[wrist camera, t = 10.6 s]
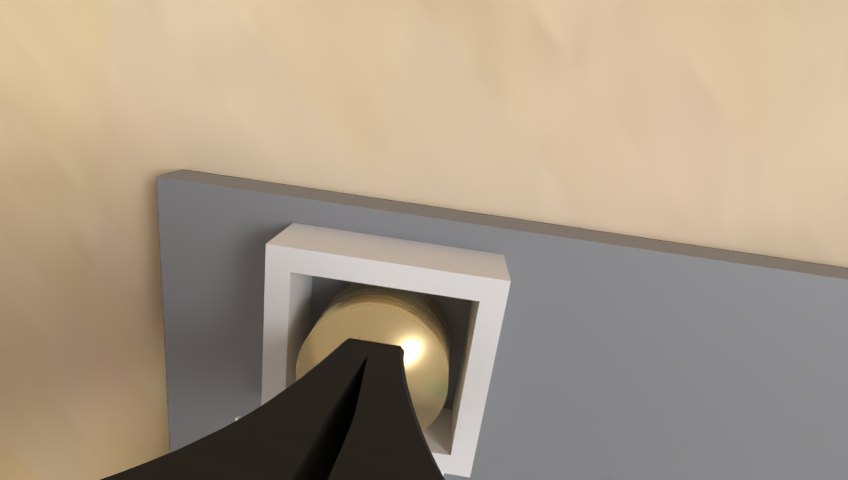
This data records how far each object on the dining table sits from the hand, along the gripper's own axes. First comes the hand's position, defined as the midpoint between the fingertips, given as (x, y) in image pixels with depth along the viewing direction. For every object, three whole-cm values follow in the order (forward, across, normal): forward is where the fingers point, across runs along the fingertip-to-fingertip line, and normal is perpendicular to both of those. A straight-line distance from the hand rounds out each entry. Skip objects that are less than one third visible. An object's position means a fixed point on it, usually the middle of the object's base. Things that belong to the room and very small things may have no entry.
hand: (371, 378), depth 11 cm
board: (+3, -6, +4) cm, 8 cm away
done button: (+2, 0, 0) cm, 2 cm away
